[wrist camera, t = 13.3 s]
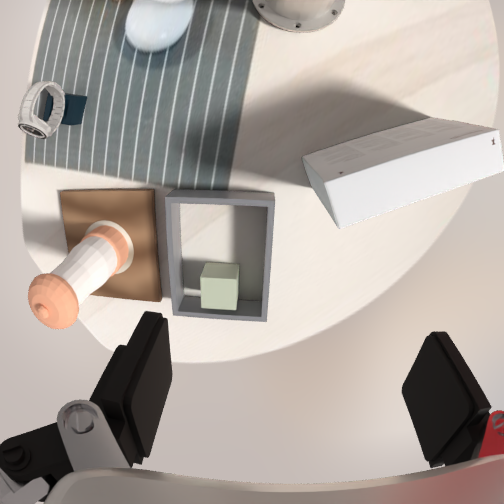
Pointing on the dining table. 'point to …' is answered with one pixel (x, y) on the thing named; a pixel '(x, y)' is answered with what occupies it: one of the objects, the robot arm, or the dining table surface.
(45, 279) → the pepper shaker
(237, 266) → the sage block
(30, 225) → the dining table surface
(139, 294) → the serving board
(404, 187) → the skincare box
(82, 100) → the watch
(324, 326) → the dining table surface
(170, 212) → the bin
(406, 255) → the dining table surface
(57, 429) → the robot arm
